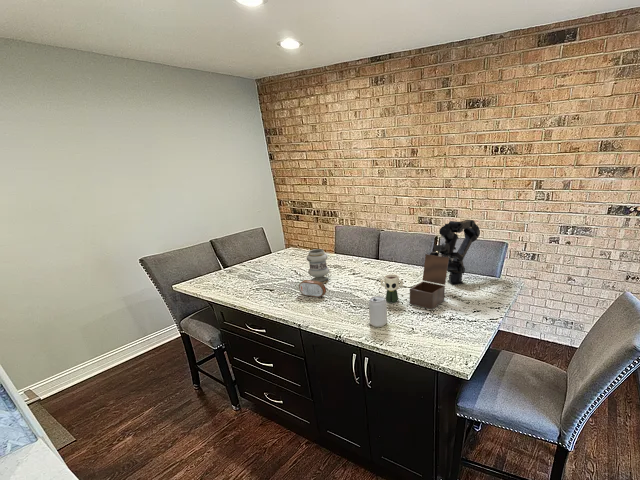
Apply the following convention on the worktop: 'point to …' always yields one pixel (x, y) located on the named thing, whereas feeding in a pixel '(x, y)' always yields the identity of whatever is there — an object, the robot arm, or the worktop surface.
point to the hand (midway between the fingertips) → (441, 271)
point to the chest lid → (435, 269)
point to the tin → (312, 288)
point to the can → (378, 311)
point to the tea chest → (427, 294)
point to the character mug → (391, 286)
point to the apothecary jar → (318, 265)
